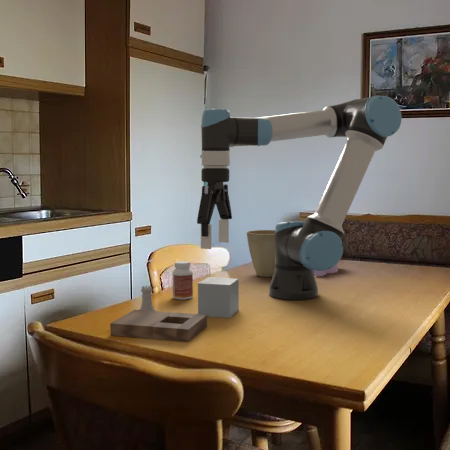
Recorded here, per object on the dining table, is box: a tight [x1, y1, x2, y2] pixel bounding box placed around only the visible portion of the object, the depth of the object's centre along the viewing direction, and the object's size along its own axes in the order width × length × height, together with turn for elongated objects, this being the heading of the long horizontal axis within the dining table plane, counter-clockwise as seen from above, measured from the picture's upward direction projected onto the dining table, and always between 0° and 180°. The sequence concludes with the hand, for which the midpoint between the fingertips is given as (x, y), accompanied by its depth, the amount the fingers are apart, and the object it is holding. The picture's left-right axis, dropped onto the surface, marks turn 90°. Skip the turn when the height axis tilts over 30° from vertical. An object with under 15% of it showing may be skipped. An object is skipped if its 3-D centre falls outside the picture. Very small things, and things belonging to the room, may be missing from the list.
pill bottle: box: [172, 260, 194, 301], centre depth 191 cm, size 6×6×11 cm
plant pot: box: [246, 229, 275, 278], centre depth 227 cm, size 15×15×16 cm
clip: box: [313, 262, 339, 277], centre depth 234 cm, size 20×12×7 cm, turn 153°
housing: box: [197, 276, 240, 319], centre depth 172 cm, size 9×9×9 cm
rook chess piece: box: [138, 285, 156, 311], centre depth 169 cm, size 4×4×8 cm
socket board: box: [109, 309, 208, 343], centre depth 155 cm, size 20×14×3 cm
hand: (215, 245), depth 170 cm, fingers open, 13 cm apart
